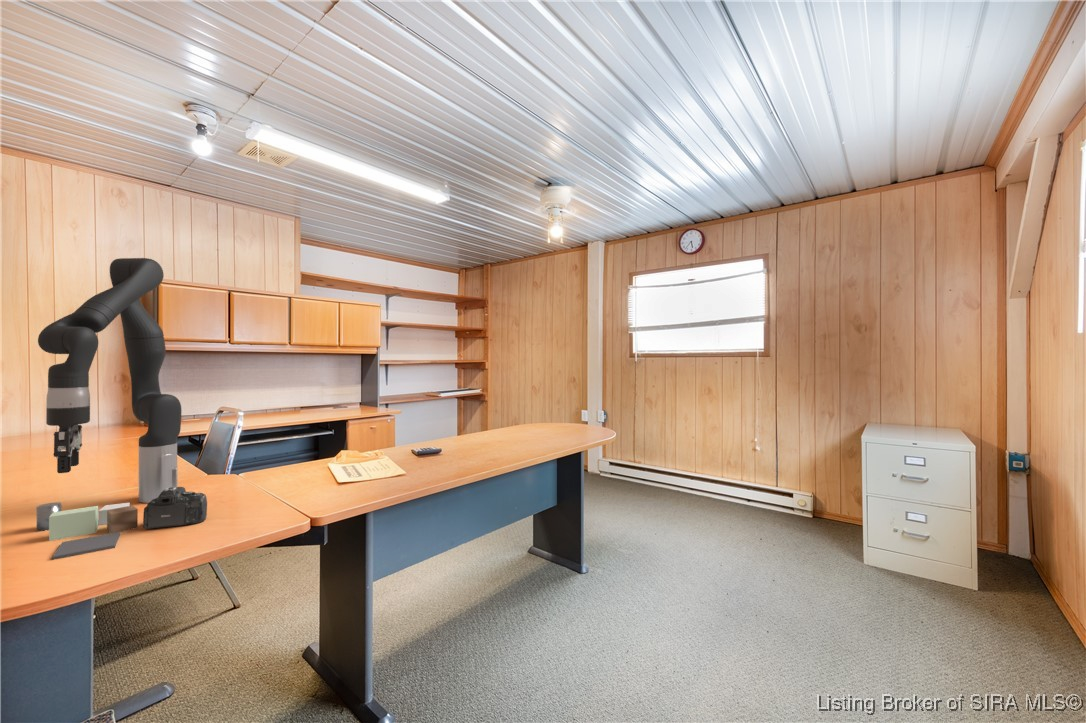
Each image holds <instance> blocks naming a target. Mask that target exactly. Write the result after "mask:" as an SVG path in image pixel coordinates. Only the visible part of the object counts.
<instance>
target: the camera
mask: <svg viewBox="0 0 1086 723" xmlns="http://www.w3.org/2000/svg"><path fill="white" fill-rule="evenodd" d="M207 499H208V498H207V496H206V494H205V493H203V492H195V491H192V490H191V491H187V490H186V487H184V486H177V487H171V488H166V489H165V490H163V491H162V492H161V494H160V495H159V496H158V498H156V499H152V500H151V501H150V502H149V503H147V504H146V506H145V507H144V508H143V517H142V519H143V520H142V521H143V522H142V523H143V524H142V526H143V528H144V529H146V530H149V529H161V528H169V527H179V526H186V525H193V524H199V523H203V522H204V521H205V520H206V519H207V515H208V514H207V513H208V500H207Z"/></svg>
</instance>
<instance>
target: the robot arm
mask: <svg viewBox="0 0 1086 723" xmlns="http://www.w3.org/2000/svg"><path fill="white" fill-rule="evenodd" d="M109 278H110V282H111V285H112V287H111V288H108V289H106V290H103V291H102V292H99V293H97V294H95V295H93V296H92V297H90V298H88V299H87V300H86V301H85V302H83V303H82V304H81V305H80V306H79V307H78V308H76V310H74V312H72V313H70V314H67V315H65V316H63V317H61V318H59V319H58V320H55V321H54V322H51V323H50V324H48V325H47V326H46V327H44V328H43V329H42V330H41V331H40V333H39V334H38V337H37V344H38V347H39V348H40V349H41V350H42V351H43V352H46V353H48V354H52V355H67V358H66V360H64V362H61V363H56V364H53V365H51V366H49V367H48V370H47V371H48V372H47V393H46V398H45V399H46V402H45V403H46V404H45V406H46V410H45V411H46V412H45V413H46V415H45V416H46V418H45V420H46V422H45V423H46V425H48V426H51V427H54V426H57V427H59V428H58V431H54V433H53V437H54V438H53V455H52V456H53V457H54V458H56V464H57V466H56V471H57V473H58V474H66V473H70V472H71V471H72V467H76V466H79V465H80V450H81V449H82V446H83V442H82V441H83V440H82V438H83V437H82V436H83V434H82V430H83V429H82V428H83V426H82V425H84V424H87V423H89V422H91V393H90V388H89V387H90V384H89V383H90V382H89V381H90V376H89V375H90V373H89V372H90V370H91V366H92V364H93V361H94V358H95V356H96V354H97V351H98V348H99V338H98V335H97V333H101V332H102V331H103V330H105V329H106V328H107V327H109V325H111V323H112V322H113V321H114V320H115V319H116V318H117V317H118V316H119V315H120V320H121V326H122V331H123V339H124V345H125V351H126V356H127V362H128V370H129V375H130V383H131V384H130V385H131V408H132V409H131V411H132V413H133V415H134V417H135V418H136V419H137V420H138V421H140V422H143V423H147V424H148V426H147V431H146V432H145V434H143V435H141V436H140V437H139V438H138V502H139V503H143V504H144V503H147V504H148V503H149V502H150V501H151V500H152V499H156V498H158V496H159V495H160V494H161V492H162V491H163V490H165V489H166V488H171V487H178V437H179V436H180V433H181V429H182V428H181V427H182V411H183V410H182V403H181V401H180V400H179V399H178V397H177V396H175V395H173V394H167V393H162V391H161V388H160V386H161V385H160V380H159V379H160V378H159V377H160V376H159V375H160V371H161V368H162V366H163V363H164V360H165V357H166V352H167V350H166V349H167V348H166V343H165V336H164V335H165V334H164V331H163V329H162V327H161V326H160V325H159V323H158V322H157V321H156V320H155V319H154V318H153V317H152V315H151V314H150V313H149V312H148V311H147V310H146V309H145V307H144V306H143V303H142V301H141V298H143V296H145V295H147V294H148V293H151V292H152V291H153V290H154V289H156V288H157V287H159V286H160V285H161V284H162V282H163V280H164V269H163V268H162V266H161V264H160V263H159V262H158V261H156V260H154V259H152V258H149V257H147V258H145V257H134V258H133V257H131V258H130V257H129V258H128V257H124V258H123V257H122V258H121V257H120V258H115V259H114V260H112V261H111V263H110V265H109Z"/></svg>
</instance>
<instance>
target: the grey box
mask: <svg viewBox="0 0 1086 723" xmlns="http://www.w3.org/2000/svg"><path fill="white" fill-rule="evenodd" d="M126 506H131V505H130V502H122V503H116V504H107V505H106V504H105V505H104V506H103V507H102V508H100V509H98V526H103V525H107V510H111V509H116V508H121V507H126Z"/></svg>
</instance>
